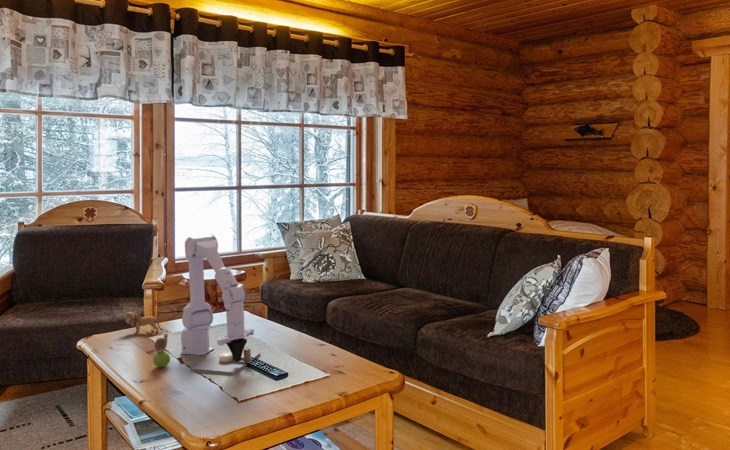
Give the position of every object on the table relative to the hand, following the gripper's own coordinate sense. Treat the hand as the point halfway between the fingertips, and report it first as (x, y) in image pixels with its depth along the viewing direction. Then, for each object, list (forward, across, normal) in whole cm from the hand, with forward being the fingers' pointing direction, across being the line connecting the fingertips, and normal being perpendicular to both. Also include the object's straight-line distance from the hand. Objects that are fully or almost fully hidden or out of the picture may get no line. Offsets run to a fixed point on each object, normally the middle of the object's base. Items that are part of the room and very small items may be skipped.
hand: (237, 360), depth 208 cm
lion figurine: (+3, +8, +65) cm, 65 cm away
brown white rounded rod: (+2, +3, +4) cm, 6 cm away
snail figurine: (+3, -13, +24) cm, 27 cm away
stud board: (+3, +2, +8) cm, 8 cm away
